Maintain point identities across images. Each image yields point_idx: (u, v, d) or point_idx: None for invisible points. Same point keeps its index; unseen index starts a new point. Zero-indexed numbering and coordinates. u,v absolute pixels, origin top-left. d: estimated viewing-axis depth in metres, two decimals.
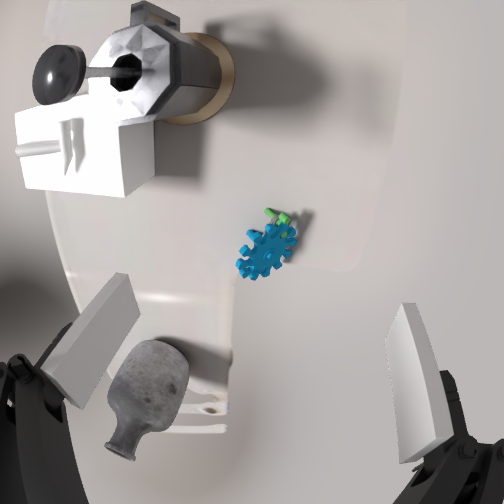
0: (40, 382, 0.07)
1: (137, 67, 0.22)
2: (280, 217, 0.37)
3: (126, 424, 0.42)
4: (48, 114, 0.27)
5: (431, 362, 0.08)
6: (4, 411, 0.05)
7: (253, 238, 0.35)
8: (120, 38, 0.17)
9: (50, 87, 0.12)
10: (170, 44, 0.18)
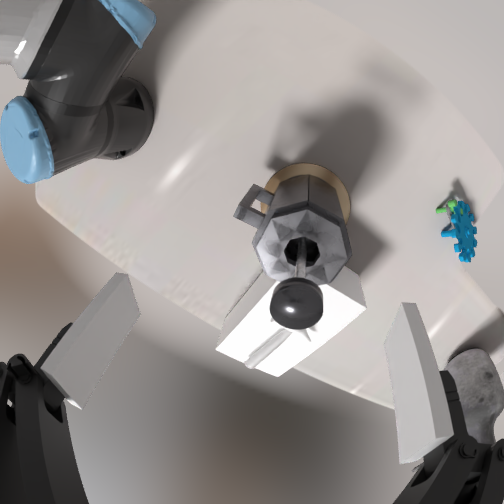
0: (40, 382, 0.07)
1: (293, 240, 0.33)
2: (450, 205, 0.33)
3: (478, 432, 0.32)
4: (251, 325, 0.45)
5: (431, 362, 0.08)
6: (4, 411, 0.05)
7: (454, 236, 0.32)
8: (268, 240, 0.30)
9: (306, 314, 0.22)
10: (307, 208, 0.28)
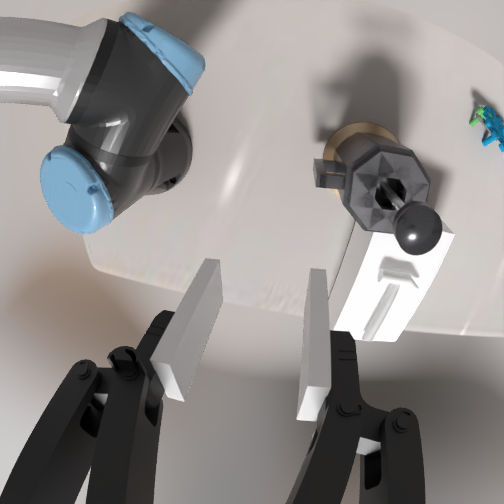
0: (146, 383, 0.08)
1: None
2: (479, 113, 0.27)
3: None
4: (359, 295, 0.42)
5: (323, 318, 0.10)
6: (78, 419, 0.06)
7: (495, 137, 0.26)
8: (358, 194, 0.28)
9: (430, 233, 0.19)
10: (380, 151, 0.26)
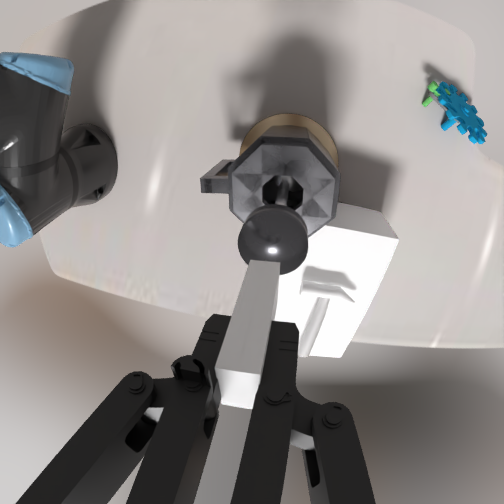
0: (210, 395, 0.08)
1: (275, 190, 0.29)
2: (432, 89, 0.25)
3: None
4: (284, 307, 0.40)
5: (266, 309, 0.11)
6: (124, 436, 0.06)
7: (451, 116, 0.23)
8: (241, 198, 0.26)
9: (288, 246, 0.17)
10: (263, 144, 0.23)
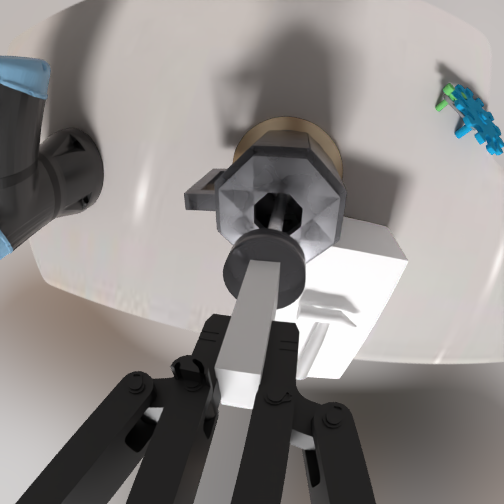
0: (210, 395, 0.08)
1: (272, 203, 0.26)
2: (447, 93, 0.21)
3: None
4: None
5: (266, 309, 0.11)
6: (124, 436, 0.06)
7: (469, 123, 0.20)
8: (229, 218, 0.22)
9: (282, 280, 0.14)
10: (254, 155, 0.20)
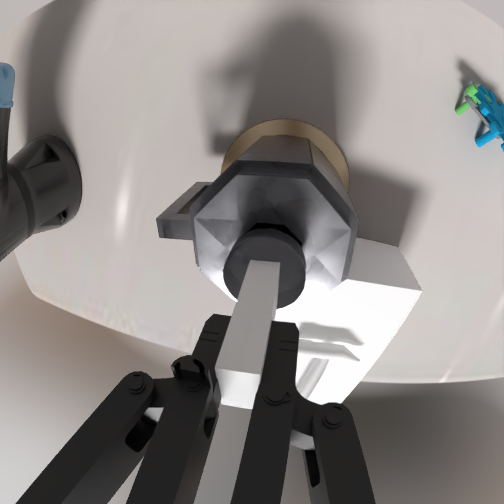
0: (210, 395, 0.08)
1: None
2: (471, 94, 0.17)
3: None
4: None
5: (266, 309, 0.11)
6: (124, 436, 0.06)
7: (496, 131, 0.15)
8: (209, 253, 0.18)
9: (281, 280, 0.14)
10: (239, 174, 0.15)
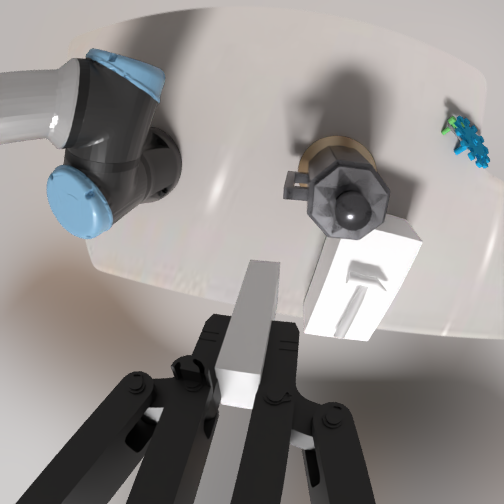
0: (210, 395, 0.08)
1: None
2: (451, 122, 0.32)
3: None
4: (330, 294, 0.47)
5: (266, 309, 0.11)
6: (124, 436, 0.06)
7: (464, 146, 0.31)
8: (319, 205, 0.33)
9: (361, 213, 0.30)
10: (339, 166, 0.31)
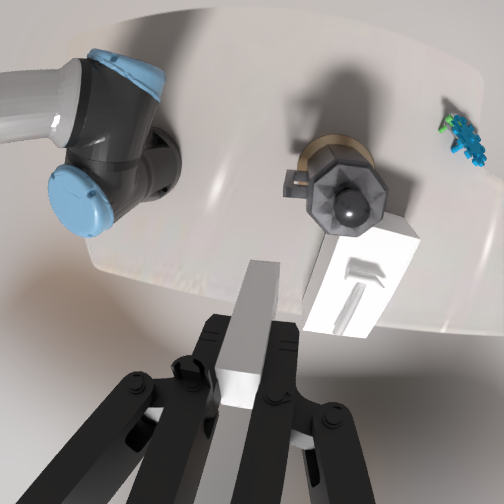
0: (210, 395, 0.08)
1: None
2: (448, 121, 0.33)
3: None
4: (328, 291, 0.48)
5: (266, 309, 0.11)
6: (124, 436, 0.06)
7: (461, 144, 0.31)
8: (318, 203, 0.34)
9: (360, 211, 0.30)
10: (338, 164, 0.31)
